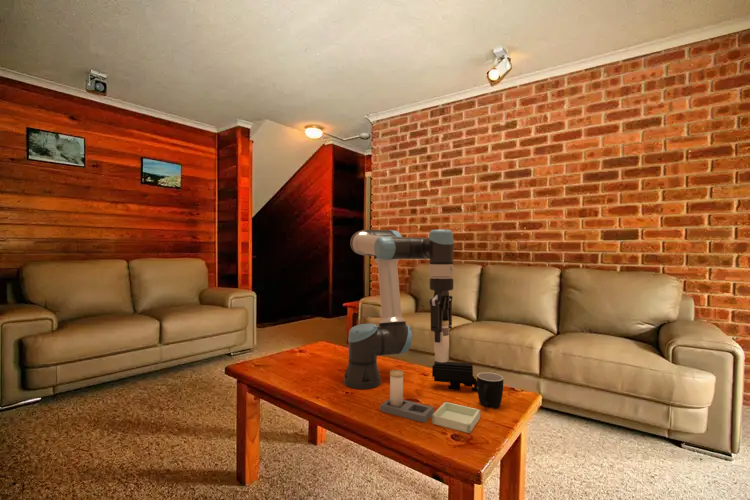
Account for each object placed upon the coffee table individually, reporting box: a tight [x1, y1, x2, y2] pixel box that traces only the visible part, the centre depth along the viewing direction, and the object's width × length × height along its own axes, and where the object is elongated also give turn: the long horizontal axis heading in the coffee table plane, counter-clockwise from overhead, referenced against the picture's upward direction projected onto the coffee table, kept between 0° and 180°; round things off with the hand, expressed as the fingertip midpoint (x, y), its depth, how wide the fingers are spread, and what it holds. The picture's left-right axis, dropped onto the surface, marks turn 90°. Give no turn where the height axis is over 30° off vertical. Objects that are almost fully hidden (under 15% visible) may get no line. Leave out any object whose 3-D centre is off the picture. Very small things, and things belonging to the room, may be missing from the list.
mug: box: [476, 371, 504, 410], centre depth 127 cm, size 12×9×10 cm
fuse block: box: [379, 369, 435, 424], centre depth 121 cm, size 16×8×13 cm, turn 59°
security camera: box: [431, 360, 478, 393], centre depth 143 cm, size 7×18×10 cm, turn 78°
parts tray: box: [431, 401, 481, 434], centre depth 116 cm, size 12×12×3 cm
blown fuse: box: [434, 320, 450, 362], centre depth 116 cm, size 5×5×13 cm
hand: (441, 350), depth 116 cm, fingers closed on blown fuse, 4 cm apart
